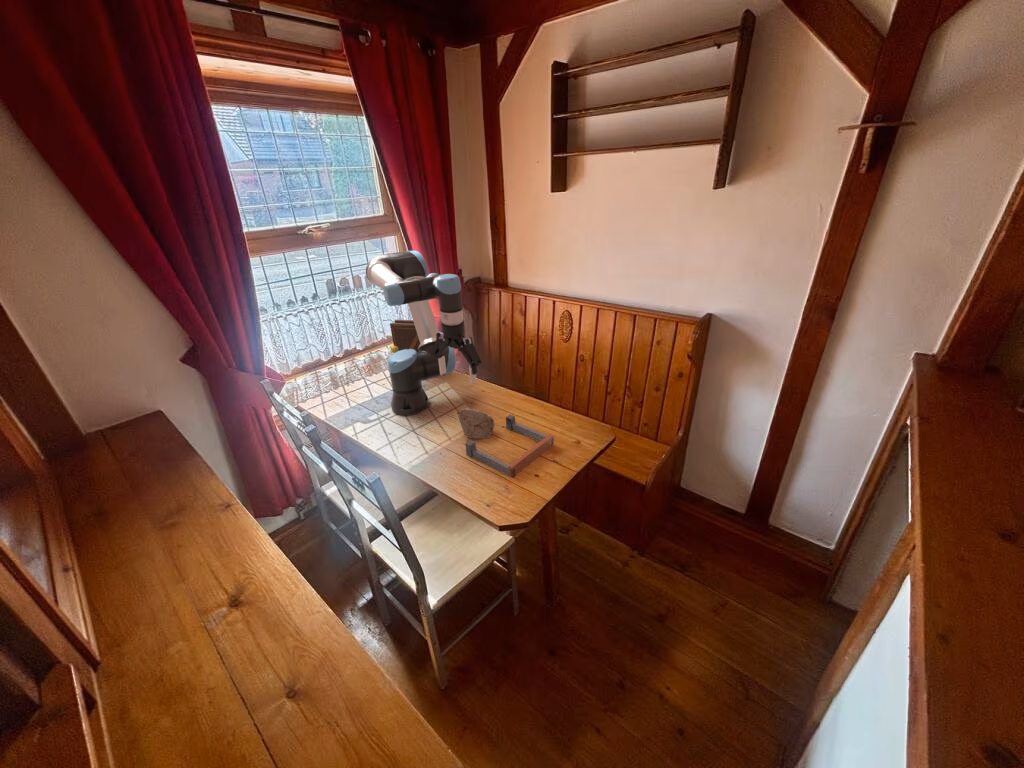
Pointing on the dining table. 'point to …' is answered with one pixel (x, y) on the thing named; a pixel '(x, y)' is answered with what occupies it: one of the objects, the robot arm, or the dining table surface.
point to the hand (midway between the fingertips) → (458, 377)
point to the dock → (523, 460)
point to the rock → (475, 423)
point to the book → (404, 336)
